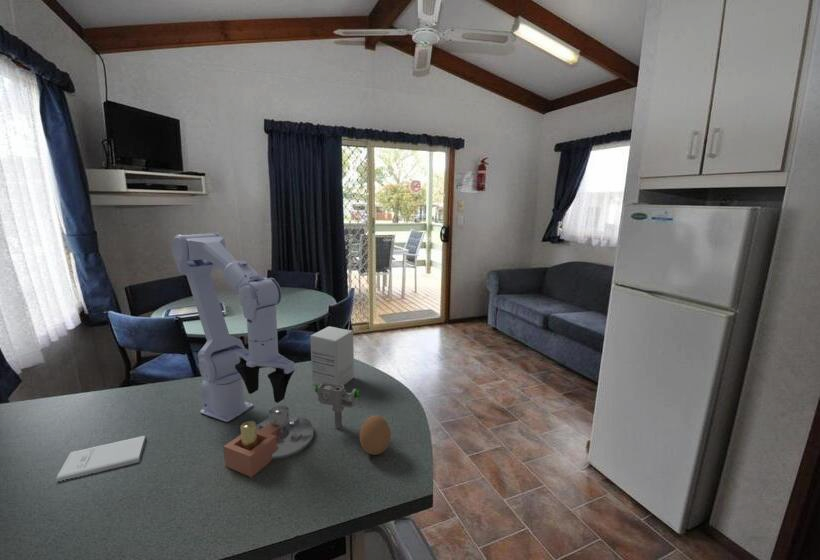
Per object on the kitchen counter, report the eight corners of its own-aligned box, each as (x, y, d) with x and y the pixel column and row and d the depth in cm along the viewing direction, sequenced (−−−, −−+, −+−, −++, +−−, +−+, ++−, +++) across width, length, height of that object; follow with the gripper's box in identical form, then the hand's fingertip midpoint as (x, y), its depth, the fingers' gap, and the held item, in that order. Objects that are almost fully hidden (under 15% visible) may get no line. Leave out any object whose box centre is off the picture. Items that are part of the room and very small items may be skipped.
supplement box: (329, 371, 113) (328, 325, 110) (354, 377, 110) (354, 330, 107) (310, 384, 105) (309, 335, 102) (337, 391, 102) (336, 340, 99)
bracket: (225, 466, 72) (223, 446, 72) (263, 437, 81) (262, 419, 80) (251, 477, 70) (250, 456, 69) (288, 446, 79) (287, 427, 78)
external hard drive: (139, 464, 73) (57, 485, 68) (146, 441, 80) (72, 457, 75) (138, 457, 73) (55, 477, 67) (145, 434, 80) (71, 450, 74)
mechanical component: (356, 433, 84) (356, 393, 82) (314, 427, 86) (313, 387, 84) (361, 426, 86) (361, 387, 84) (320, 420, 88) (319, 381, 86)
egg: (383, 465, 74) (383, 429, 72) (354, 458, 76) (354, 422, 74) (394, 446, 80) (395, 411, 78) (367, 439, 82) (367, 405, 80)
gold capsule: (239, 457, 73) (237, 426, 72) (252, 450, 76) (249, 419, 74) (248, 463, 72) (246, 431, 70) (261, 455, 74) (259, 423, 73)
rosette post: (230, 448, 78) (228, 419, 76) (278, 414, 90) (277, 388, 89) (282, 468, 72) (281, 437, 71) (325, 429, 85) (325, 402, 84)
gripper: (221, 336, 76) (226, 396, 79) (275, 350, 71) (278, 414, 74) (249, 326, 83) (252, 382, 86) (300, 338, 77) (302, 397, 80)
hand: (266, 395), depth 80 cm, fingers open, 7 cm apart
